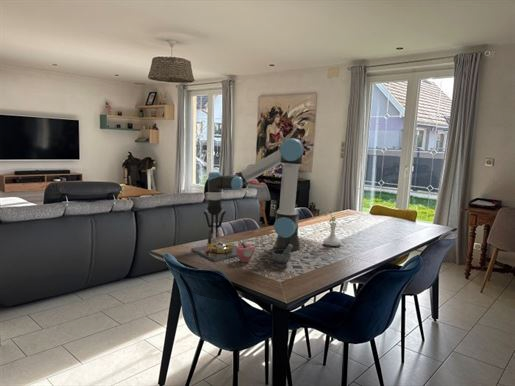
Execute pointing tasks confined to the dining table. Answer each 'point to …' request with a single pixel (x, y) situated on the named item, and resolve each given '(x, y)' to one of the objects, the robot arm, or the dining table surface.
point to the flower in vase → (331, 239)
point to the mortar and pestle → (282, 256)
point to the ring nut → (220, 249)
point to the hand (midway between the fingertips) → (214, 238)
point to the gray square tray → (216, 256)
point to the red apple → (245, 252)
